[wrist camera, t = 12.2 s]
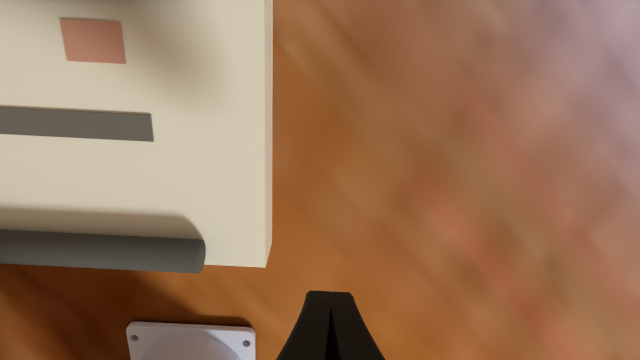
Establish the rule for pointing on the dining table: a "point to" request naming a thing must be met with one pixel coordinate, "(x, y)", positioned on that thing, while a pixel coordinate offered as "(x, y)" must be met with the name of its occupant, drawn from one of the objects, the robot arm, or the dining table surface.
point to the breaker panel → (139, 121)
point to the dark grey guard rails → (102, 251)
